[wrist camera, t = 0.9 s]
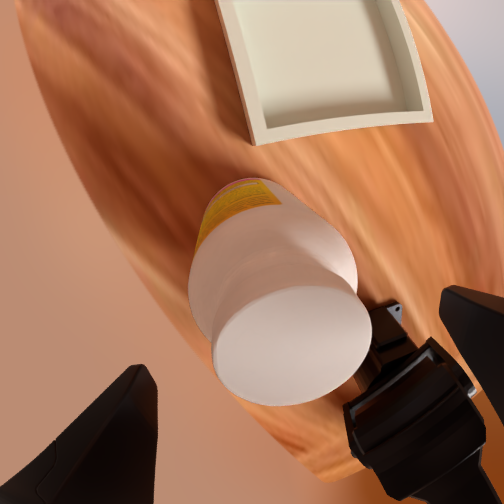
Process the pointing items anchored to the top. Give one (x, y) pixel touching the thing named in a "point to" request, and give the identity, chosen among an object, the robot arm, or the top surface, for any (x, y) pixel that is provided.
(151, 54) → the top surface
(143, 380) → the robot arm
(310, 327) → the supplement bottle
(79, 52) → the top surface
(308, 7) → the tray
